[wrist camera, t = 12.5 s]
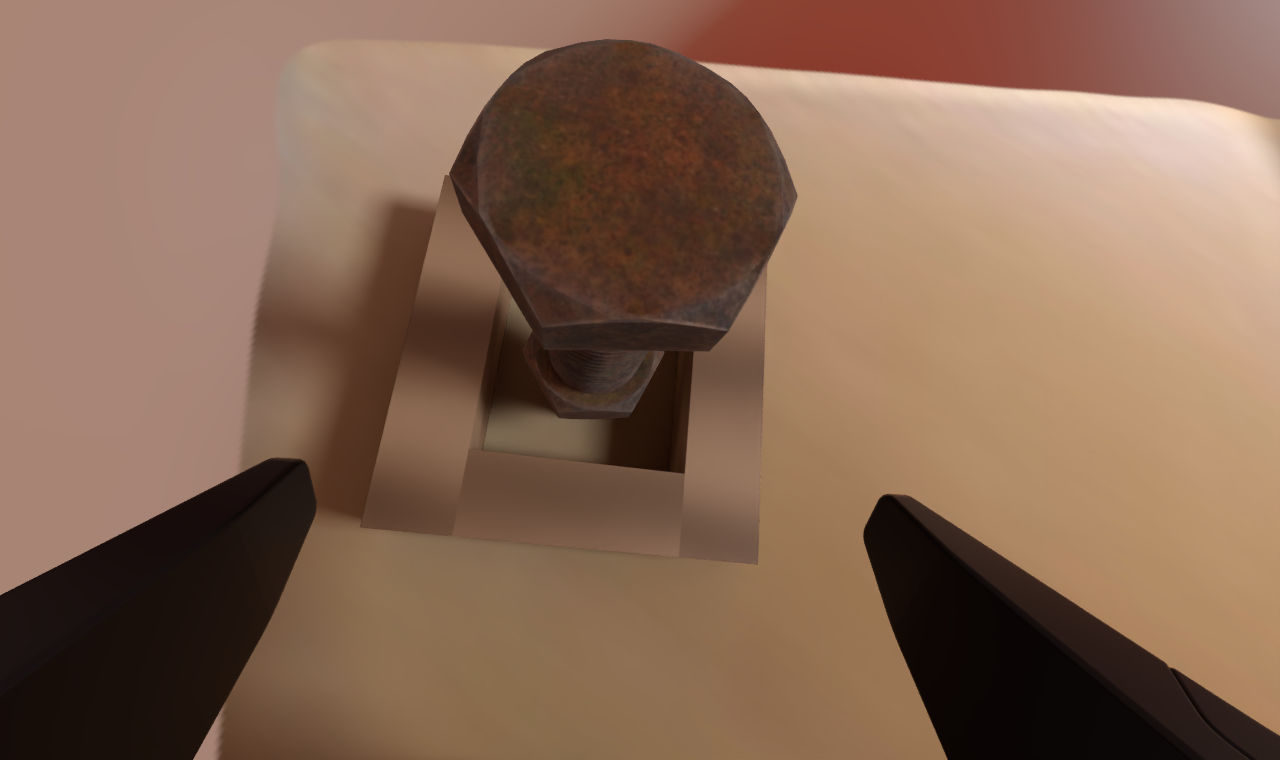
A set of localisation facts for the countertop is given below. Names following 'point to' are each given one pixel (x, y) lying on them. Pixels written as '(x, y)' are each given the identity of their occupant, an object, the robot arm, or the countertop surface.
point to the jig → (552, 488)
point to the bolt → (621, 212)
